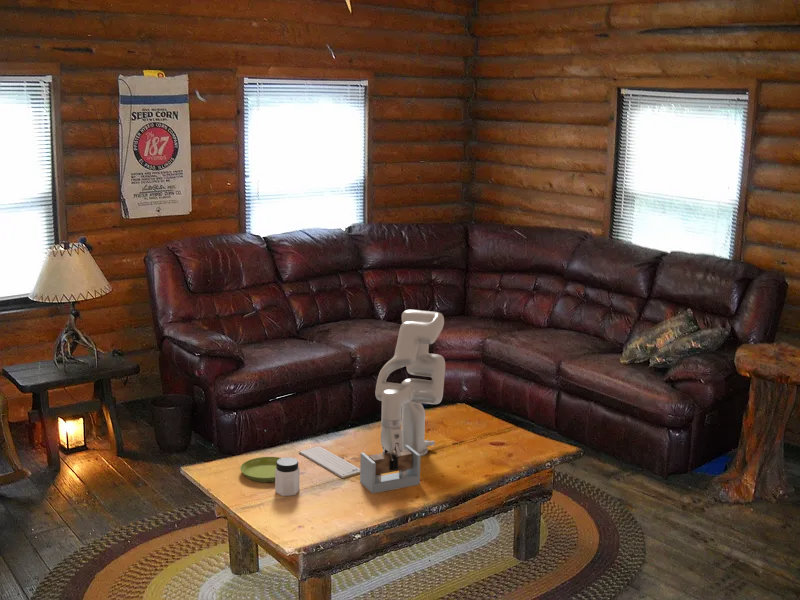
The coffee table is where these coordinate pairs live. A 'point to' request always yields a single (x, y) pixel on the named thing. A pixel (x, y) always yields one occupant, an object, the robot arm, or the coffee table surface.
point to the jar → (287, 476)
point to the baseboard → (331, 462)
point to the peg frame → (391, 480)
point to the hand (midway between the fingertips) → (390, 466)
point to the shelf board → (384, 461)
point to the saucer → (260, 469)
